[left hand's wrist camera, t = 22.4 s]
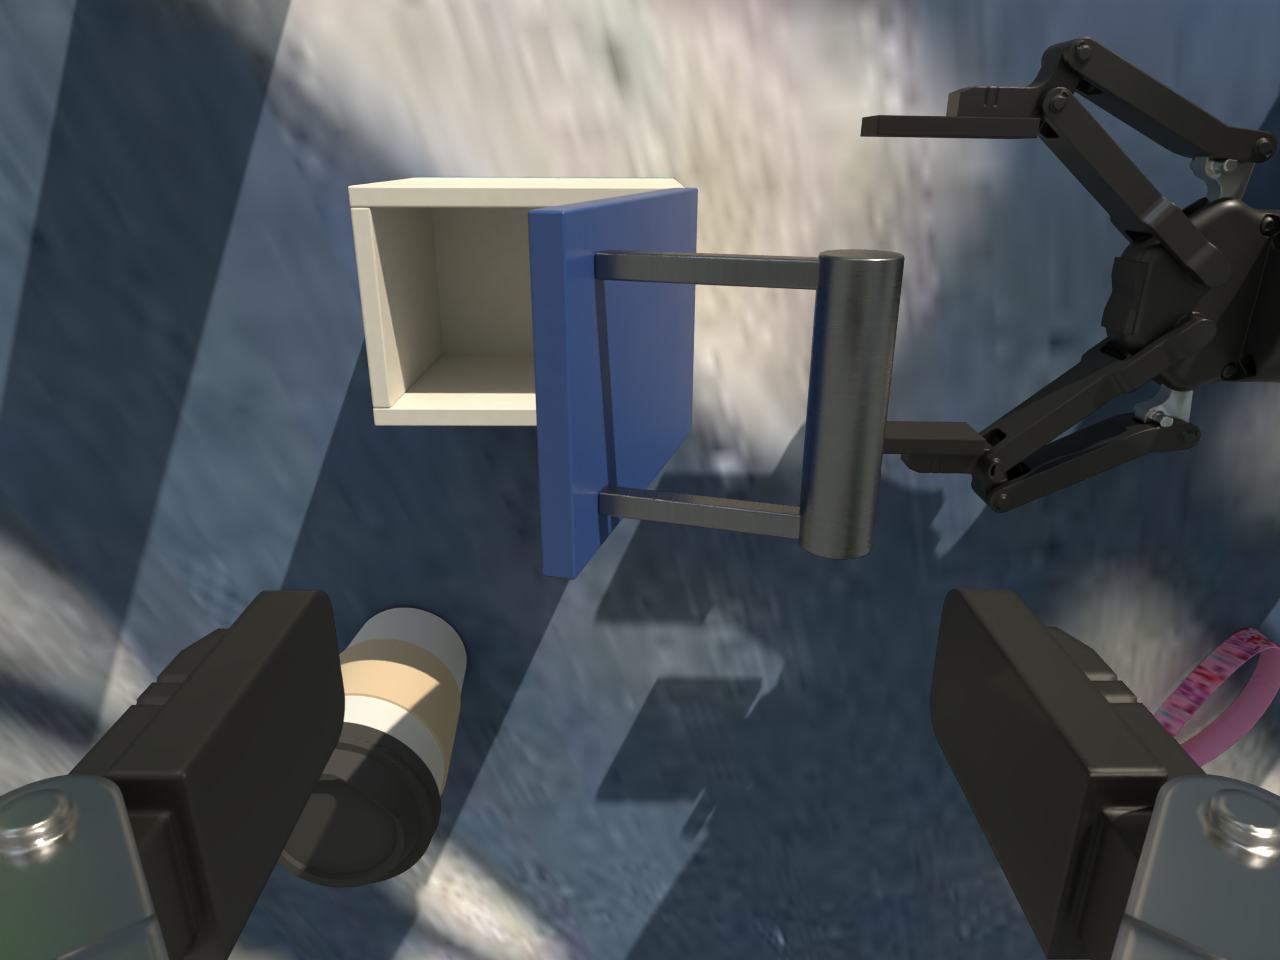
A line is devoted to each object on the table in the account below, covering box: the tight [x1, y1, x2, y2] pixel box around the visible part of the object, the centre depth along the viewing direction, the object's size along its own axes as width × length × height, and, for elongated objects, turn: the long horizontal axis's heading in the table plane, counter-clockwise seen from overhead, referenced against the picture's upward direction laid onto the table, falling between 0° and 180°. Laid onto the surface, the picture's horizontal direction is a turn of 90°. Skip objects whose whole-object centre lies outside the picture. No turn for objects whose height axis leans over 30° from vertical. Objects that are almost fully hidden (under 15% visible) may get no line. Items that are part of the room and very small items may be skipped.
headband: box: [1154, 628, 1280, 767], centre depth 53 cm, size 11×4×2 cm, turn 152°
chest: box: [348, 177, 684, 426], centre depth 39 cm, size 13×10×11 cm
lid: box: [528, 188, 904, 579], centre depth 27 cm, size 14×10×9 cm
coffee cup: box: [277, 608, 467, 887], centre depth 46 cm, size 9×9×15 cm
